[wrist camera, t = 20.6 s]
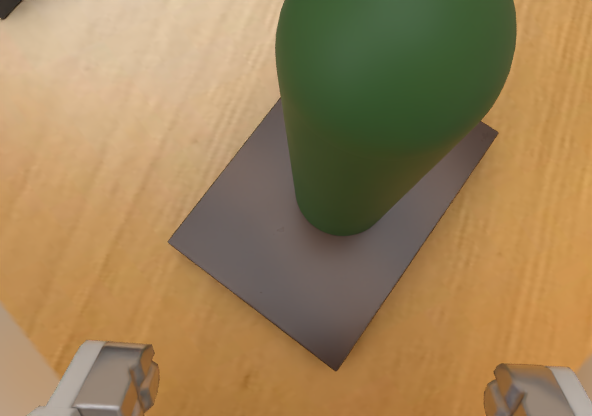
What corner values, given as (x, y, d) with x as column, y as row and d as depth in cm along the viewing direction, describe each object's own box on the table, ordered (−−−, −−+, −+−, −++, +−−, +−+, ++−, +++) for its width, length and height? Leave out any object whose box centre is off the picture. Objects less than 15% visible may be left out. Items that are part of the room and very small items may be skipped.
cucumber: (354, 255, 20) (467, 173, 6) (276, 199, 20) (201, -3, 6) (408, 179, 20) (633, -69, 6) (331, 127, 21) (376, -206, 7)
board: (334, 366, 20) (336, 372, 19) (176, 245, 21) (166, 241, 20) (486, 142, 22) (499, 132, 20) (332, 44, 23) (334, 28, 22)
